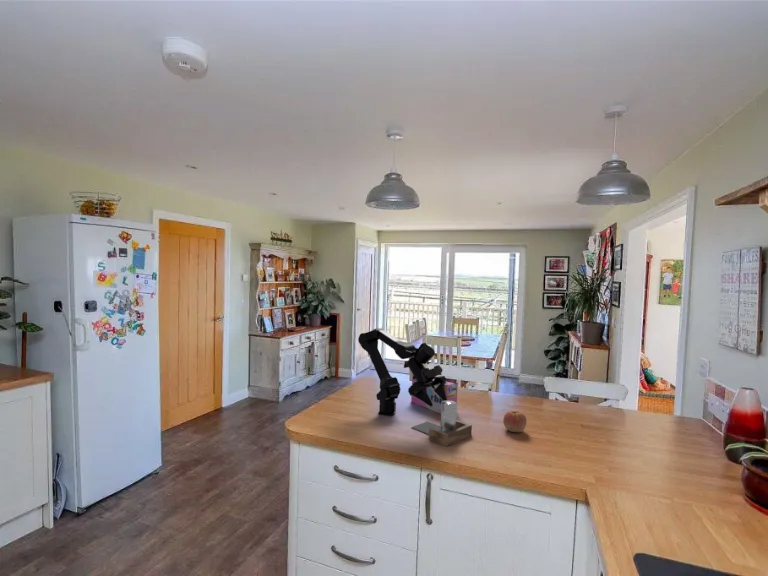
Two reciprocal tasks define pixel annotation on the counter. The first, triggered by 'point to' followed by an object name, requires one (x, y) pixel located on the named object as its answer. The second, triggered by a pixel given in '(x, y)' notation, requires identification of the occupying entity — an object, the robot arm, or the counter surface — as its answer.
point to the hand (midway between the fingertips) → (439, 403)
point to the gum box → (435, 399)
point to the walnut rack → (451, 434)
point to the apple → (514, 421)
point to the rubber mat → (426, 427)
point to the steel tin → (448, 416)
